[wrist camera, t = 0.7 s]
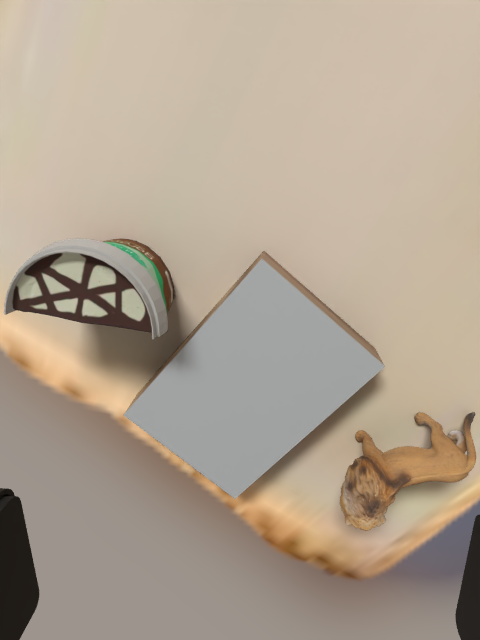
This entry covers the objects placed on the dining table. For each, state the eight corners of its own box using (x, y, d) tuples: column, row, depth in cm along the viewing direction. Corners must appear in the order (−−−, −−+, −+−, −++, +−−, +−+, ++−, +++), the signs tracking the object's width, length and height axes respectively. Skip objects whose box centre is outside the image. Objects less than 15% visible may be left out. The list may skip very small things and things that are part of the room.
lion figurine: (343, 481, 45) (358, 552, 36) (321, 443, 43) (331, 508, 35) (481, 429, 41) (532, 495, 33) (461, 386, 40) (509, 443, 31)
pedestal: (263, 250, 37) (261, 259, 34) (375, 348, 39) (384, 366, 36) (137, 394, 44) (123, 415, 40) (238, 472, 46) (235, 498, 42)
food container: (195, 236, 38) (167, 257, 28) (189, 301, 40) (160, 341, 30) (63, 215, 38) (-8, 229, 29) (63, 280, 40) (-3, 313, 31)
